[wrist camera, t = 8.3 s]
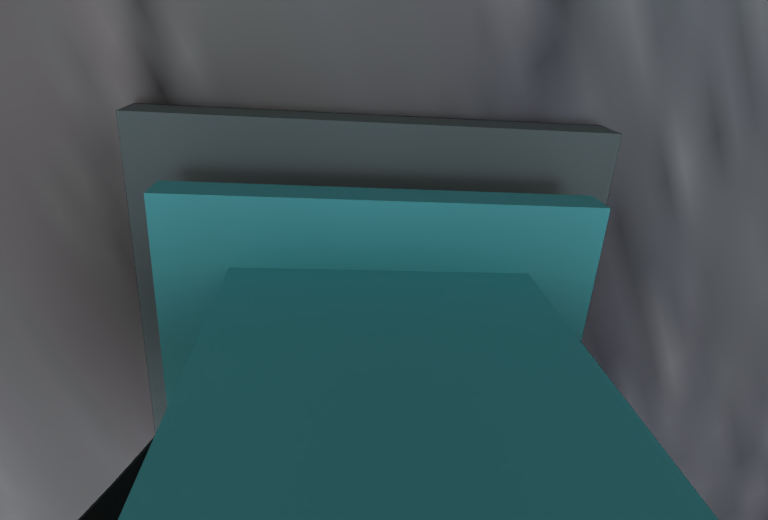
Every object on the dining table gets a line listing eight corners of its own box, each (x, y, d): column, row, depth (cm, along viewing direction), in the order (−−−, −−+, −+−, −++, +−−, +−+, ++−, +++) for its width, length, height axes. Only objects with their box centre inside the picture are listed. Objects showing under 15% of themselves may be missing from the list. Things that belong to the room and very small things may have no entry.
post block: (600, 125, 12) (755, 186, 8) (529, 473, 16) (605, 650, 12) (133, 103, 12) (0, 157, 7) (174, 479, 15) (107, 674, 11)
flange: (591, 195, 11) (952, 436, 4) (526, 510, 14) (685, 915, 8) (157, 180, 10) (-142, 445, 4) (191, 518, 13) (58, 976, 7)
